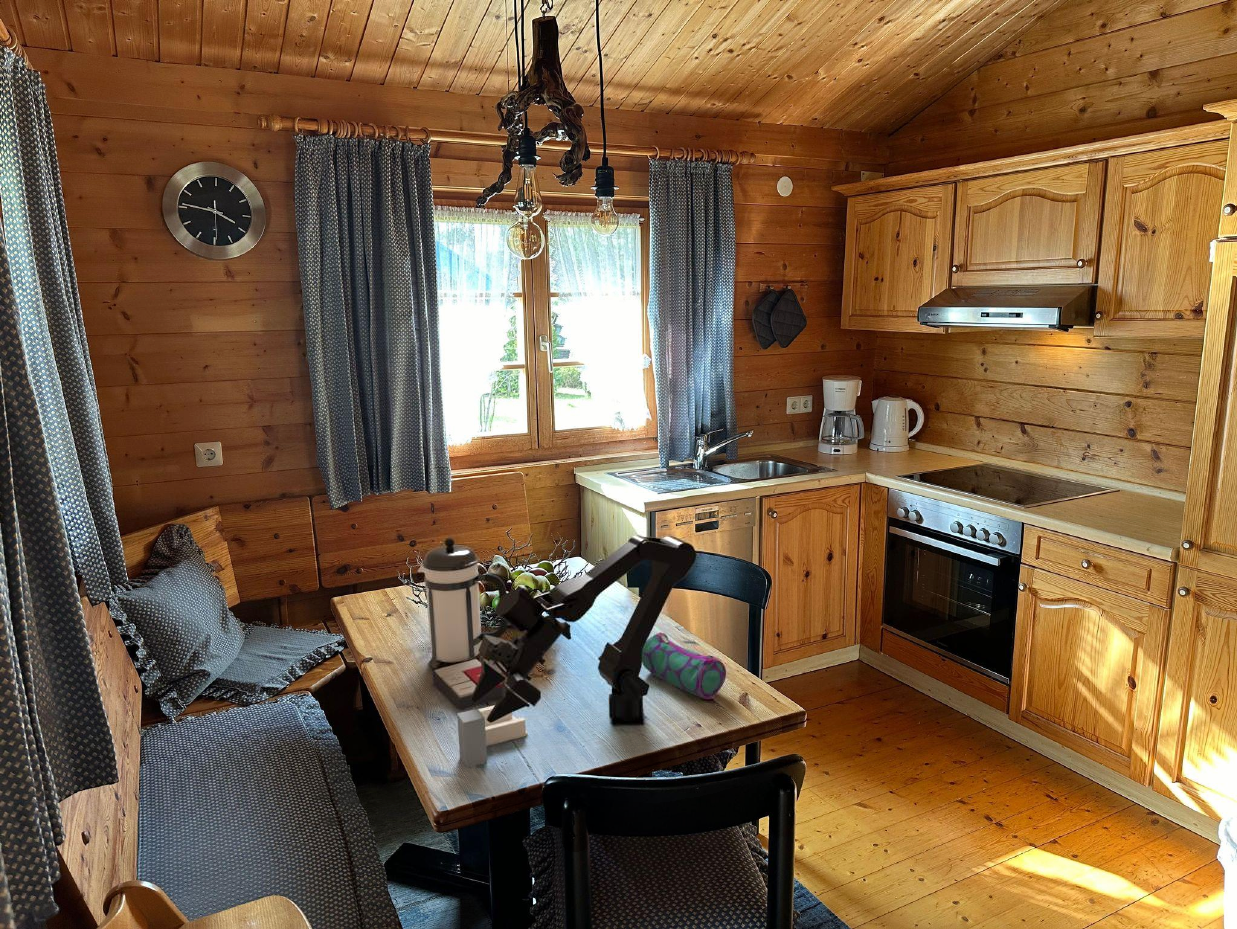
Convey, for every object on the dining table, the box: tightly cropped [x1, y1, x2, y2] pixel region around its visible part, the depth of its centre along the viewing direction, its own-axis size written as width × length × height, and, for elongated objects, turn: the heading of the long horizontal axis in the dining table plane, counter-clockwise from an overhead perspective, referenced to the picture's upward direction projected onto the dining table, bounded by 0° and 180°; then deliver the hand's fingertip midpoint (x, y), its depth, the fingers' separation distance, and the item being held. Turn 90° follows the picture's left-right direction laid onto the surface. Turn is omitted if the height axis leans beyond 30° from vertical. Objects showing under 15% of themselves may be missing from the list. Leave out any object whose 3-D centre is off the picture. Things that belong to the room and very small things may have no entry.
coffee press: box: [417, 537, 509, 670], centre depth 206 cm, size 17×16×30 cm
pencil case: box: [642, 632, 727, 701], centre depth 192 cm, size 21×9×10 cm, turn 38°
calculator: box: [432, 658, 504, 711], centre depth 192 cm, size 11×4×15 cm
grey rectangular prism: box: [456, 708, 488, 768], centre depth 163 cm, size 4×4×9 cm
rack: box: [477, 704, 529, 747], centre depth 173 cm, size 10×9×4 cm
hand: (480, 710), depth 163 cm, fingers open, 9 cm apart
